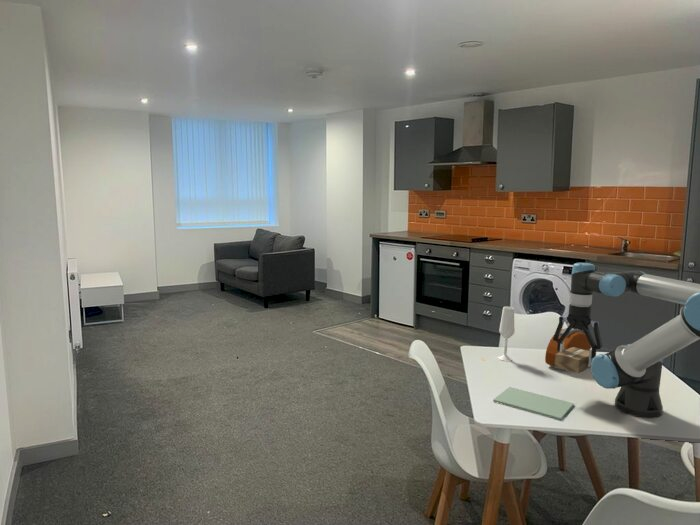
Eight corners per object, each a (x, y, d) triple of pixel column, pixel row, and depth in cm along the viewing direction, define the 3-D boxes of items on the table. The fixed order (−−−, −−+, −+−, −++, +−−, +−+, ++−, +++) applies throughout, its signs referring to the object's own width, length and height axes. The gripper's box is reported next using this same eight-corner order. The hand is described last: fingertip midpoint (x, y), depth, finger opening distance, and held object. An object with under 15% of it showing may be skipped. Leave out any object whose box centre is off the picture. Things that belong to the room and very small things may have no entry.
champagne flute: (510, 362, 238) (514, 310, 235) (495, 359, 242) (499, 308, 238) (514, 358, 244) (517, 307, 241) (499, 355, 247) (502, 305, 244)
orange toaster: (571, 357, 248) (574, 322, 245) (590, 362, 241) (593, 326, 238) (543, 367, 233) (546, 330, 231) (562, 373, 226) (566, 335, 224)
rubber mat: (573, 405, 193) (573, 403, 193) (560, 420, 180) (560, 418, 180) (509, 388, 207) (509, 386, 207) (493, 401, 195) (493, 399, 194)
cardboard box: (595, 365, 201) (596, 352, 200) (578, 373, 192) (579, 359, 191) (571, 359, 208) (572, 346, 207) (554, 366, 198) (555, 353, 198)
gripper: (615, 307, 193) (609, 366, 196) (552, 298, 206) (548, 354, 209) (610, 311, 187) (605, 372, 190) (546, 301, 200) (542, 358, 203)
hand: (575, 362), depth 200 cm, fingers closed on cardboard box, 10 cm apart
